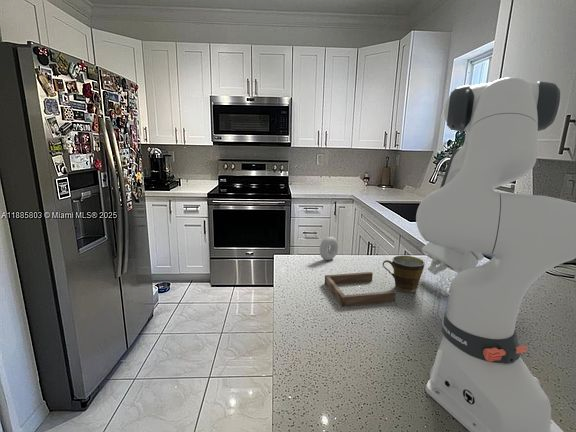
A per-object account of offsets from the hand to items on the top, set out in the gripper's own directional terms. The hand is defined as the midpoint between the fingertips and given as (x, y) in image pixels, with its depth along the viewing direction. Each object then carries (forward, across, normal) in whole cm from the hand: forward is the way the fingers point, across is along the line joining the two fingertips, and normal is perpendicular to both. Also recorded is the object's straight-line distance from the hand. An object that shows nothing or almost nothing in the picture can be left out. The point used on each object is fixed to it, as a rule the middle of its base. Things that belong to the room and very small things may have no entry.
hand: (431, 272), depth 108 cm
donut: (+22, -30, -15) cm, 40 cm away
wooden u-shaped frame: (+22, 0, -15) cm, 26 cm away
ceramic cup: (+11, 0, -4) cm, 12 cm away
